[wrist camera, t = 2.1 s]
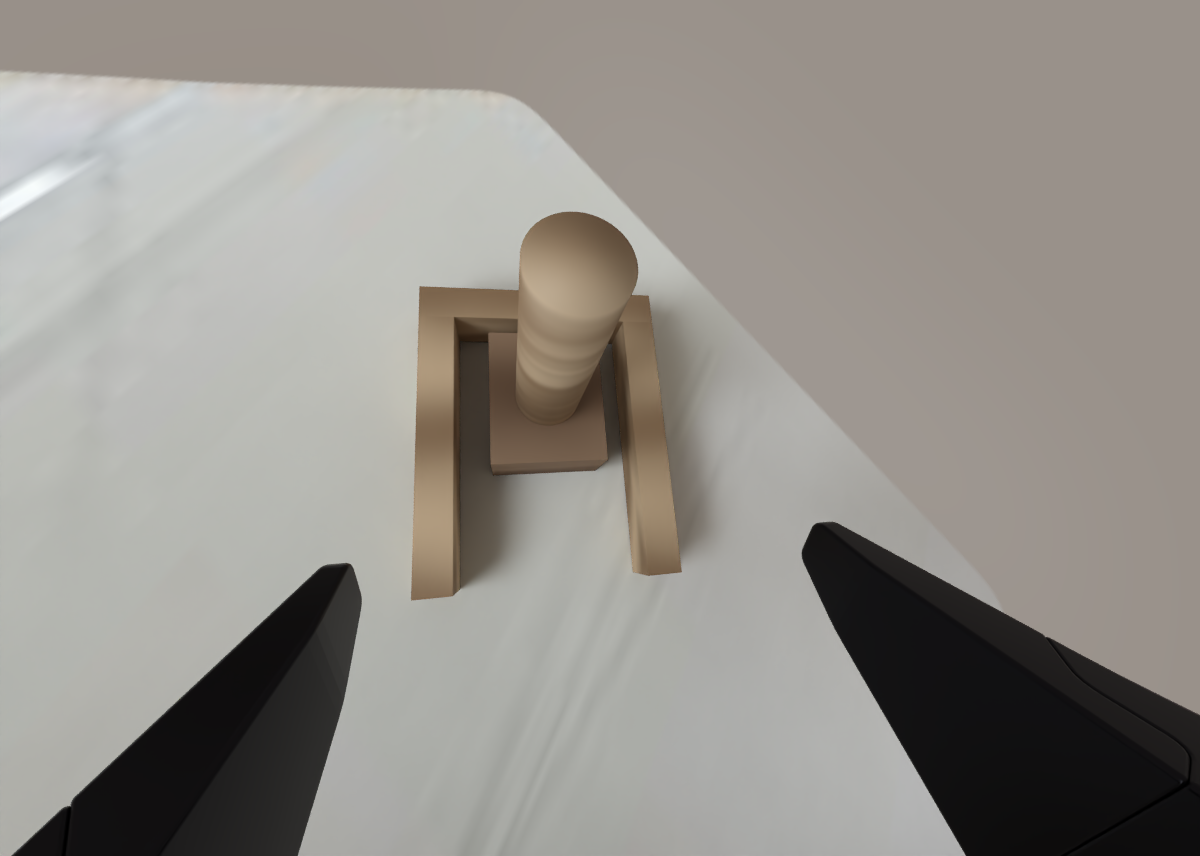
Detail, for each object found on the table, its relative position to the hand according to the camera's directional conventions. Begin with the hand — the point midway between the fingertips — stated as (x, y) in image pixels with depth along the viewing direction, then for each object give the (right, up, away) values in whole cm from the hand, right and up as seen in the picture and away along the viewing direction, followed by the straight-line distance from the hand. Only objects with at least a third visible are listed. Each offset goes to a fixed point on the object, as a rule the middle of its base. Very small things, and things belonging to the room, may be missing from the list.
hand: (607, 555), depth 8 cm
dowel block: (-3, +3, +14) cm, 14 cm away
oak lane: (-3, +1, +13) cm, 13 cm away
